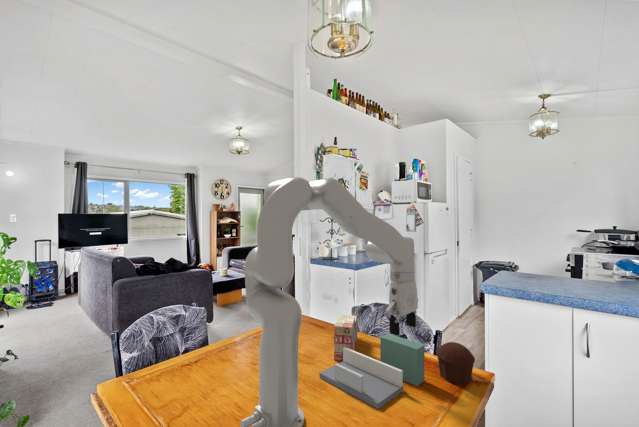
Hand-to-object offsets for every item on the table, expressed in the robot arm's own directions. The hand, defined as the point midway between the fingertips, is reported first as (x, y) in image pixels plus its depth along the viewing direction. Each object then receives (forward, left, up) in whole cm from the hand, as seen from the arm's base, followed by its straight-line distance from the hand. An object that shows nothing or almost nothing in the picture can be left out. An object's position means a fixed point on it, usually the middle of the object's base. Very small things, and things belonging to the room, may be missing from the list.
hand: (403, 329), depth 100 cm
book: (-1, 0, -14) cm, 14 cm away
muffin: (+11, -12, -15) cm, 22 cm away
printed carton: (+2, +25, -15) cm, 29 cm away
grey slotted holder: (-14, +6, -14) cm, 21 cm away
